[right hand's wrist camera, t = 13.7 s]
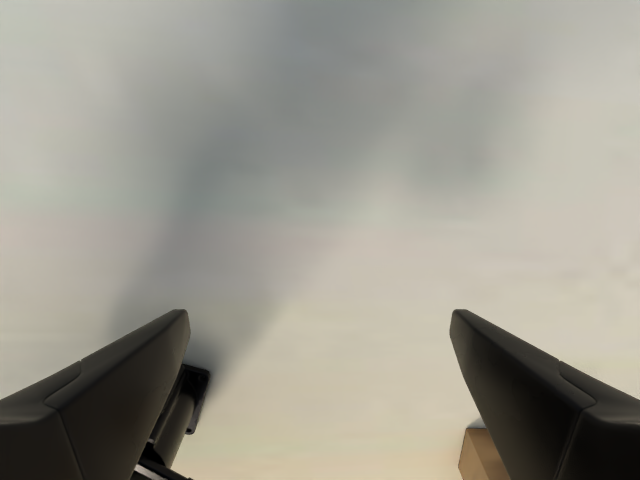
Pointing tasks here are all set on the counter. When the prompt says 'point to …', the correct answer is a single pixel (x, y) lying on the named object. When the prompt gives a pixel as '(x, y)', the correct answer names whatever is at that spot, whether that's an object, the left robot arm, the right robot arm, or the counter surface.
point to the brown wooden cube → (480, 457)
